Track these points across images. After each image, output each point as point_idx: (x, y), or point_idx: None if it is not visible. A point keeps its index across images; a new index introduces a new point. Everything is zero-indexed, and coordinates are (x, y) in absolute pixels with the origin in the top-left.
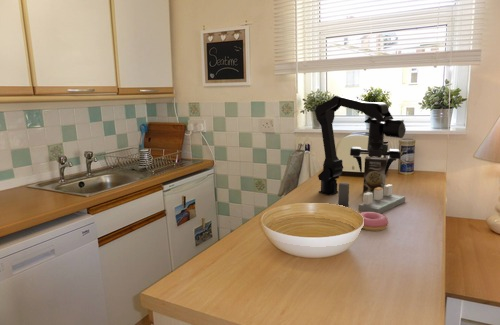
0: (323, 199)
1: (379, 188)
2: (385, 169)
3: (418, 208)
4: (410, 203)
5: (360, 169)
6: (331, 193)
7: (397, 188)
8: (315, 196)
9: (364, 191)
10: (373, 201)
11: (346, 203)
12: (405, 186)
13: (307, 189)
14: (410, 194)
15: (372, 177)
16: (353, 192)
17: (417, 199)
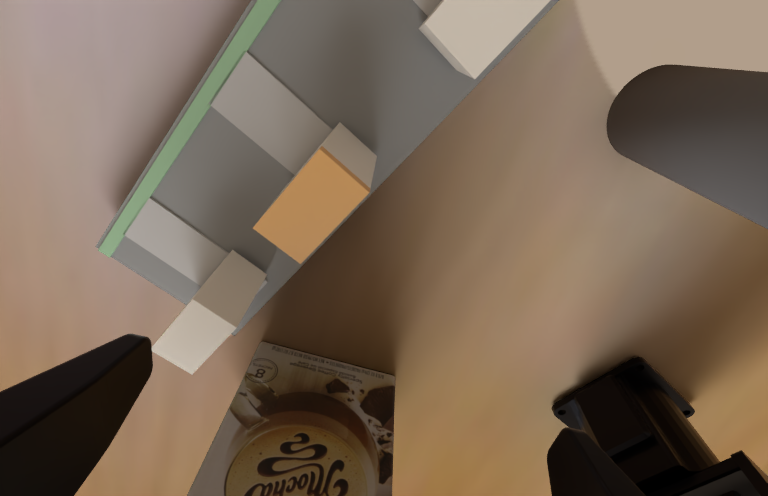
0: (738, 272)
1: (301, 203)
2: (52, 410)
3: (5, 49)
4: (79, 185)
5: (628, 486)
6: (626, 372)
7: (165, 459)
8: (759, 335)
9: (385, 387)
10: (389, 105)
11: (666, 73)
12: (120, 484)
13: (728, 456)
14: None
15: (317, 485)
16: (447, 404)
17: (35, 275)
